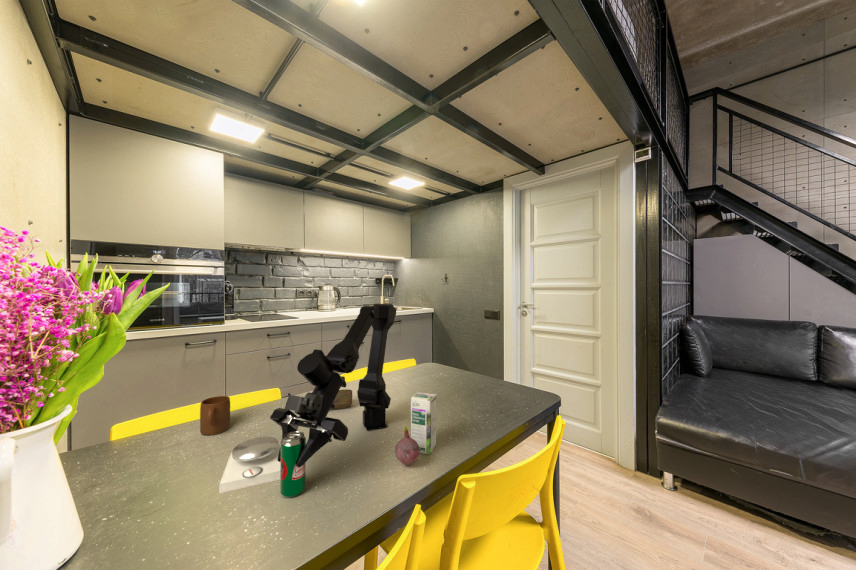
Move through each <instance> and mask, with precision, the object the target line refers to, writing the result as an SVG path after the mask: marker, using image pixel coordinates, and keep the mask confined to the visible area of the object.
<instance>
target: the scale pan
mask: <svg viewBox="0 0 856 570" xmlns="http://www.w3.org/2000/svg"><path fill="white" fill-rule="evenodd" d="M278 443H279V440H278V438H276V437H273V436H272V437H271V436H260V437H254V438H251V439H247V440H245V441H243V442H241V443H238V444H237V445H236V446H235V447H234V448H233V449H232V451H231V452H232V458H233V459H234V460H237V461H253V460H257V459H261V458H263V457H266V456H268V455H270V454H272V453H273V452H274V451H275V450H276V449H277V448H278Z"/></svg>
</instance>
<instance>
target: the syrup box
mask: <svg viewBox="0 0 856 570" xmlns="http://www.w3.org/2000/svg"><path fill="white" fill-rule="evenodd" d="M410 438H412V439H414V440H415V441H416V442H417V443H418V445H419V448H420V453H422V454H423V455H425V454H426V455H429V456H430V455H431V454H432V452H433V451H434V449H435V448H436V445H437V394H436V393H426V392H421V391H418V392H416V393H415V394H414V395H412V397H411V398H410ZM420 453H419V454H420Z"/></svg>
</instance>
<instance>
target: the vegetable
mask: <svg viewBox="0 0 856 570" xmlns="http://www.w3.org/2000/svg"><path fill="white" fill-rule="evenodd" d="M403 431H404V434H403V435H404V437H403V438H401V439H400V440H399V441H398V442H397V443H396V445H395V447H394V448H395V449H394V454H395V457H396V458H397V460H398V461H399V462H400V463H401V464H402V465H404V466H406V467H407V466H408V467H409V466H411V464H413V463H415V462H416V461H417V460H418V458H419V455H420V448H419V445H418V443H417V442H416V441H415V440H414V439H412V438H411V435H410V433H409V430H408V427H407V425H405V426H404V429H403Z"/></svg>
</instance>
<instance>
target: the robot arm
mask: <svg viewBox="0 0 856 570" xmlns="http://www.w3.org/2000/svg"><path fill="white" fill-rule="evenodd" d="M396 315H397V308H396V307H395V306H394V304H393V303H374V304H373V305H363V306H361V307H360V309H359V313H358V315H357V317H356V319H355V320H354V322H353V323H352V325H351V327H350V328H349V330H348V331H347V333H346V335H345V336H344V338H343V340H341V341H340V342H337V344H335V345H334V346H333V347H332V348H331V349H330V350H329V352H328V353H327V354H325V353H324V352H323V350H322V349H317V348H316V349H314V350H313V351H312V352H310V353H308V354H307V355H305V356H304V357H303V358H302V359H300V360H299V361H298V363H297V367H296V368H297V371H298V373H299V374H300V375H301V376H302V377H304V379H305V380H306V381H307V382H308V383H310V385H311V386H314V388H313V390H312V391H311V392H307V393H306V394H305V395H304V396H298V395H292V394H288V397H287V400H286V402H285V403H286V404H285V406H284V408H282V407H278V408H275V409H274V410H273V412H272V413H271V415H270V417H269V419H270V420H272V421H273V422H274V423H275V424H277V426H278V425H279V426H280V427H281V432H282V433H281V434H282V435H281V441H282V440H283V439H282V438H283V436H284V435H286V434H287V433H290V432H295V431H298V429H299V427H302V428H307V429H308V430H309V433H308V438H307V440H306V445H305V447H304V449H303V451H302V453H301V455H300V457H299V459H298V462H297V465H296V466H297V467H299V468H300V467H301V466H302V465H303V464H304V463H305V462H306V463H307V461H309V459H310V458H312V457H313V456H314V455H315V454H316V453H317V452H318V451H319V450H321V448H323V447H324V446H325V445H326V444H328V443H332V441H333V440H332V437H333V439H334V440H337V441H340V442H341V441H342V442H345V441H346V439H347V436H348V435H349V427H348V426H347V425H345V423H344V422H342V421H341V419H339V418H333V417H328V414H329V412H330V409H332V411H333V410H335V409H334V407H335V405H334V404H333V402H334V400H335V398H336V396H337V393H338V391H339V390H341V388H346V387H347V381H346V377H345V376H341V375H340V374H339V373H343V374H349V373H353V371H354V370H355V368H356V366H357V365H358V362H359V359H360V354H359V353H360V352H359V350H360V347H361V345H362V343H364V340H365V338H366V336H367V334H368V333H369V330H370V329H371V327H372V336H371V341H370V349H369V356H368V363H367V369H366V375H364V377H362V379H359V381H358V388H357V392H356V393H357V394H356V395H357V400H358V405H359V407H361V408H362V407H363V408H364V409H363V410H362V425H363V427H364V428H365V430H366V431H373V430H378V429H385V428H388V424H387V423H386V419H387V418H386V417H387V415H386V413H387V411H386V409H389V408H390V407H389V406H390V404H391V400H392V398H391V397H390V395H389V394H388V393H387V391H386V390H387V389H386V388H387V387H386V385H387V384H386V381H385V380H384V377H383V371H384V363H385V356H386V355H385V354H386V349H387V341H388V332H389V330H390V329H391V327H392V326H393V325H394V324H395V318H396ZM293 411H294V412H293ZM278 461H279V462H280V450H279V455H278Z"/></svg>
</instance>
